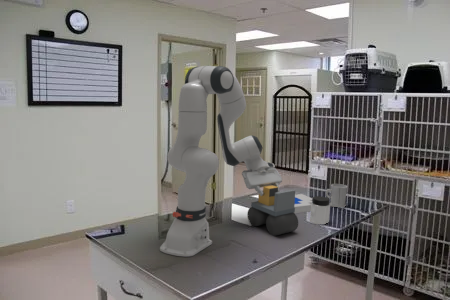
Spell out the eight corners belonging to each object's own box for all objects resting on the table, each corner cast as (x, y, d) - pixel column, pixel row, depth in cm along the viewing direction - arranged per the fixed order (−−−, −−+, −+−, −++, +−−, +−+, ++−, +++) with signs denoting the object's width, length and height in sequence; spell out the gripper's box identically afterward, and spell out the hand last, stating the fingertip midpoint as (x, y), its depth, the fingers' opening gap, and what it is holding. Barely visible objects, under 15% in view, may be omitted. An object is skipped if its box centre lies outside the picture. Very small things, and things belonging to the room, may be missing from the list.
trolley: (298, 233, 158) (301, 191, 155) (279, 238, 151) (281, 195, 148) (265, 218, 175) (267, 181, 173) (246, 223, 168) (248, 184, 166)
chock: (258, 201, 166) (258, 185, 164) (266, 200, 169) (267, 183, 168) (268, 205, 160) (269, 188, 159) (277, 204, 163) (278, 187, 162)
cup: (334, 209, 195) (336, 188, 193) (323, 204, 203) (325, 184, 202) (349, 207, 199) (351, 186, 198) (338, 203, 208) (339, 183, 206)
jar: (307, 219, 177) (308, 196, 175) (321, 218, 179) (323, 195, 177) (316, 226, 168) (318, 201, 166) (331, 224, 171) (333, 200, 169)
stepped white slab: (324, 203, 193) (281, 208, 181) (323, 210, 194) (280, 216, 182) (293, 190, 218) (254, 194, 206) (293, 196, 219) (253, 200, 207)
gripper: (243, 167, 161) (256, 193, 154) (276, 163, 173) (289, 187, 166) (237, 174, 165) (249, 200, 158) (269, 170, 177) (282, 194, 170)
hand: (270, 193), depth 162 cm, fingers open, 8 cm apart
